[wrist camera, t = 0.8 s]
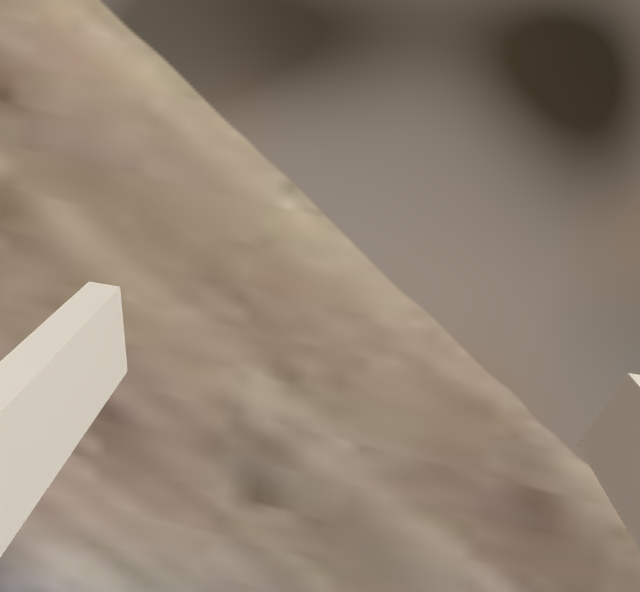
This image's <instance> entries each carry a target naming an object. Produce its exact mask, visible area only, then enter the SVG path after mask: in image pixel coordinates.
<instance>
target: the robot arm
mask: <svg viewBox="0 0 640 592" xmlns="http://www.w3.org/2000/svg"><path fill="white" fill-rule="evenodd" d="M126 372H127V361H126V350H125V338H124V327H123V316H122V304H121V293H120V287H118V286H112V285H106V284H100V283H94V282H88V283H87V284H86V285H85V286H84V287H82V288H81V289H80V290H79V291H78V292H77V293H76V294H75V295H74V296H72V297H71V298H70V299H69V300H68V301H67V302H66V303H65V304H64V305H62V306H61V307H60V308H59V309H58V310H57V311H56V312H55V313H54V314H52V315H51V316H50V317H49V318H48V319H47V320H46V321H45V322H44V323H42V324H41V325H40V326H39V327H38V328H37V329H36V330H35V331H34V332H33V333H31V334H30V335H29V336H28V337H27V338H26V339H25V340H24V341H23V342H21V343H20V344H19V345H18V346H17V347H16V348H15V349H14V350H13V351H11V352H10V353H9V354H8V355H7V356H6V357H5V358H4V359H3V360H1V361H0V557H1V556H2V554H3V553H4V551H5V550H6V548H7V547H8V545H9V544H10V542H11V541H12V540H13V538H14V537H15V535H16V534H17V532H18V531H19V529H20V528H21V526H22V525H23V523H24V522H25V520H26V519H27V518H28V516H29V515H30V513H31V512H32V510H33V509H34V507H35V506H36V504H37V503H38V501H39V500H40V498H41V497H42V496H43V494H44V493H45V491H46V490H47V488H48V487H49V485H50V484H51V482H52V481H53V479H54V478H55V476H56V475H57V474H58V472H59V471H60V469H61V468H62V466H63V465H64V463H65V462H66V460H67V459H68V457H69V456H70V455H71V453H72V452H73V450H74V449H75V447H76V446H77V444H78V443H79V441H80V440H81V438H82V437H83V435H84V434H85V433H86V431H87V430H88V428H89V427H90V425H91V424H92V422H93V421H94V419H95V418H96V416H97V415H98V413H99V412H100V411H101V409H102V408H103V406H104V405H105V403H106V402H107V400H108V399H109V397H110V396H111V394H112V393H113V391H114V390H115V389H116V387H117V386H118V384H119V383H120V381H121V380H122V378H123V377H124V375H125V374H126ZM578 446H579V448H580V449H581V451H582V453H583V454H584V456H585V458H586V460H587V461H588V463H589V465H590V467H591V468H592V470H593V472H594V473H595V475H596V477H597V479H598V480H599V482H600V484H601V485H602V487H603V489H604V491H605V492H606V494H607V496H608V497H609V499H610V501H611V503H612V504H613V506H614V508H615V510H616V511H617V513H618V515H619V516H620V518H621V520H622V522H623V523H624V525H625V527H626V528H627V530H628V532H629V534H630V535H631V537H632V539H633V540H634V542H635V544H636V546H637V547H638V549H639V551H640V375H636V374H630V373H628V374H627V375H626V376H625V378H624V379H623V381H622V382H621V384H620V385H619V386H618V388H617V389H616V391H615V392H614V393H613V395H612V396H611V398H610V399H609V401H608V402H607V403H606V405H605V406H604V408H603V409H602V411H601V412H600V413H599V415H598V416H597V418H596V419H595V420H594V422H593V423H592V425H591V426H590V428H589V429H588V430H587V432H586V433H585V435H584V436H583V438H582V439H581V440H580V442H579V443H578Z"/></svg>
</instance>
